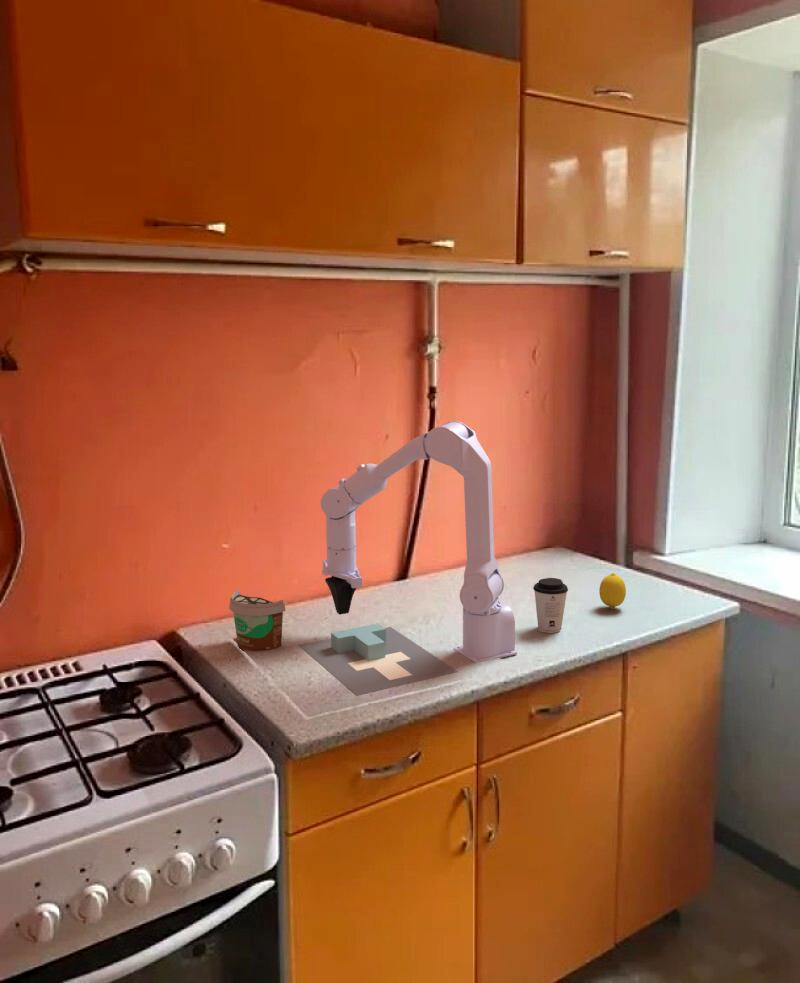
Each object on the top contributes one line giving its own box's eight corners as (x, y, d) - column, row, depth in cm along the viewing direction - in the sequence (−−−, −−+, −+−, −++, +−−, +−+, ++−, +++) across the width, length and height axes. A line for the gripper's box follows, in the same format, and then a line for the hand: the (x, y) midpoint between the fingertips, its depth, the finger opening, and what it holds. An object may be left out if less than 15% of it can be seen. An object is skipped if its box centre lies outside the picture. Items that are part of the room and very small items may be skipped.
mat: (390, 629, 181) (390, 626, 181) (457, 674, 158) (458, 671, 158) (298, 647, 171) (298, 645, 171) (356, 698, 149) (356, 695, 149)
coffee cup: (559, 637, 175) (560, 589, 173) (526, 631, 179) (527, 583, 177) (572, 626, 181) (573, 579, 179) (540, 620, 184) (541, 574, 182)
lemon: (600, 603, 195) (601, 568, 193) (626, 606, 193) (628, 570, 191) (597, 611, 189) (598, 575, 188) (623, 614, 188) (625, 578, 186)
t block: (377, 637, 175) (377, 623, 174) (400, 654, 166) (400, 638, 166) (331, 647, 170) (330, 632, 169) (352, 664, 162) (352, 649, 161)
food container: (217, 647, 172) (215, 598, 170) (240, 637, 177) (237, 589, 175) (265, 660, 165) (263, 609, 163) (287, 650, 170) (285, 600, 168)
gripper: (308, 540, 178) (310, 605, 180) (337, 558, 165) (339, 627, 168) (340, 536, 181) (341, 599, 184) (371, 553, 168) (372, 621, 171)
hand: (342, 612), depth 176 cm, fingers closed
